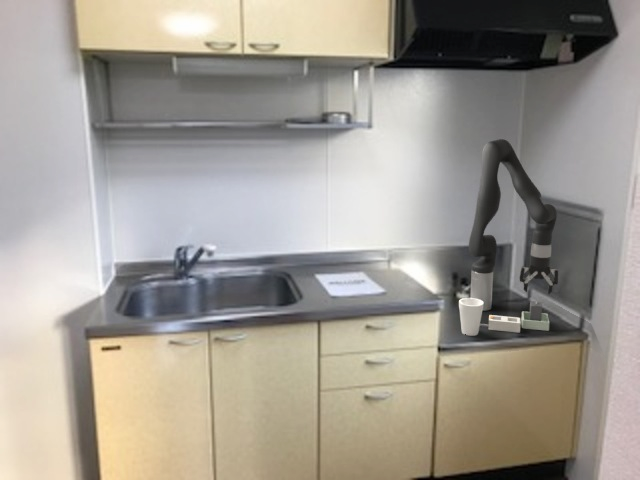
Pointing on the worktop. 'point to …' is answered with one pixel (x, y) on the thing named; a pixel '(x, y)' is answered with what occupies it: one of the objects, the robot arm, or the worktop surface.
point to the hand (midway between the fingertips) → (537, 292)
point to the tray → (535, 322)
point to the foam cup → (470, 315)
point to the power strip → (503, 323)
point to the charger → (535, 311)
